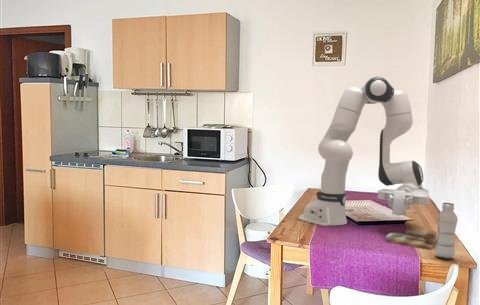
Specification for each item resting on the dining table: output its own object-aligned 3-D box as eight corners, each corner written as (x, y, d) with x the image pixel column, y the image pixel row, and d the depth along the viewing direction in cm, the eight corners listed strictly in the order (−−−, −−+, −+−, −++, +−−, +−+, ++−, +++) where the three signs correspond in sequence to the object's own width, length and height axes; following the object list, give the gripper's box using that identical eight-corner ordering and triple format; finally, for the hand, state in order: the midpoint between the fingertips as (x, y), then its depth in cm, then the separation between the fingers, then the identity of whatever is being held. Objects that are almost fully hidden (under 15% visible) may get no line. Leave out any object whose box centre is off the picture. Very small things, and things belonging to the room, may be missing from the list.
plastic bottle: (435, 253, 163) (439, 200, 160) (455, 256, 159) (459, 203, 157) (433, 258, 157) (436, 204, 155) (453, 262, 154) (458, 206, 152)
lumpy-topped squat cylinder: (390, 208, 233) (391, 192, 232) (385, 203, 245) (386, 188, 244) (410, 209, 231) (411, 193, 230) (404, 204, 244) (405, 189, 243)
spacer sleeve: (391, 214, 177) (392, 189, 176) (394, 212, 181) (395, 188, 180) (402, 215, 175) (403, 191, 174) (405, 213, 179) (406, 189, 178)
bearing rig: (383, 241, 176) (384, 228, 176) (391, 234, 186) (392, 222, 185) (431, 250, 166) (432, 236, 166) (437, 242, 176) (438, 229, 176)
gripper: (382, 184, 193) (373, 189, 182) (432, 190, 182) (425, 195, 171) (382, 198, 194) (372, 203, 183) (431, 204, 183) (424, 211, 171)
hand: (398, 199), depth 177 cm, fingers closed on spacer sleeve, 4 cm apart
